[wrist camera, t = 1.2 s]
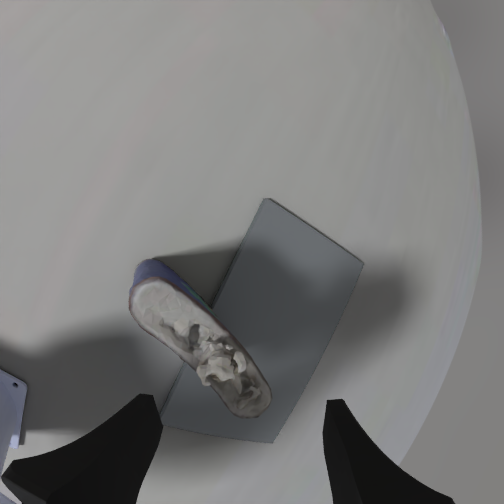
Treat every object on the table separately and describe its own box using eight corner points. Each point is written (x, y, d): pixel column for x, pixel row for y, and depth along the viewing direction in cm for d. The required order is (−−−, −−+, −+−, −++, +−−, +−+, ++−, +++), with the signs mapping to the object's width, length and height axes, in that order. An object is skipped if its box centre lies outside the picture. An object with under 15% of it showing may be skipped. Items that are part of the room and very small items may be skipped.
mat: (157, 419, 21) (158, 423, 21) (263, 198, 23) (267, 198, 23) (269, 440, 26) (272, 443, 26) (359, 263, 28) (363, 264, 28)
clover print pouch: (126, 274, 20) (112, 314, 10) (158, 246, 20) (173, 260, 10) (211, 364, 22) (264, 448, 12) (239, 339, 23) (310, 408, 13)
